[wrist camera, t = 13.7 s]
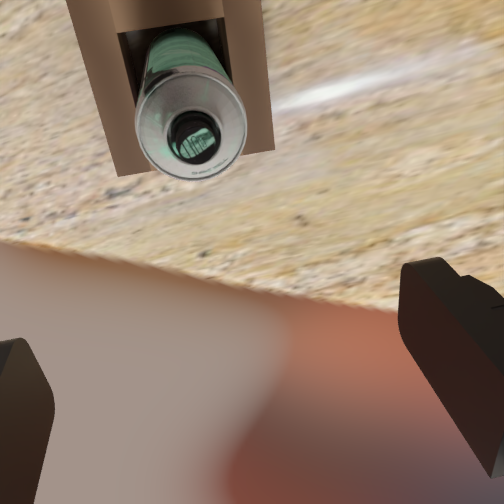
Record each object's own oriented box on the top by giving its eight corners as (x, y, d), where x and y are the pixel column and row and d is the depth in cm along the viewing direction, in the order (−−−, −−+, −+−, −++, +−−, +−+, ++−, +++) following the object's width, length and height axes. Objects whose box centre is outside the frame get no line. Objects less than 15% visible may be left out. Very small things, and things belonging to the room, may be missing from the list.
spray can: (133, 78, 37) (109, 171, 20) (164, 11, 35) (166, 54, 18) (195, 112, 39) (219, 222, 22) (227, 51, 37) (281, 122, 20)
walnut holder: (243, -34, 34) (257, -33, 29) (260, 126, 41) (275, 149, 36) (78, -10, 33) (64, -6, 28) (123, 150, 40) (117, 176, 35)
